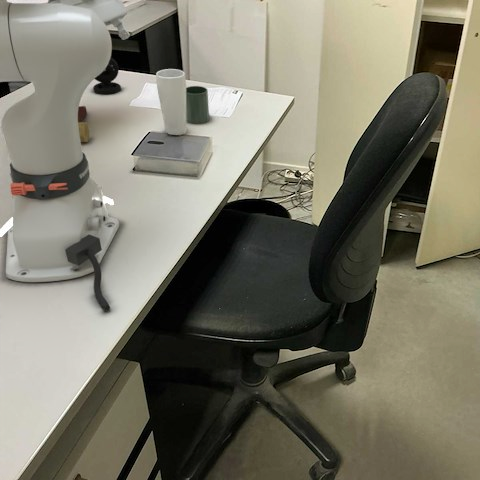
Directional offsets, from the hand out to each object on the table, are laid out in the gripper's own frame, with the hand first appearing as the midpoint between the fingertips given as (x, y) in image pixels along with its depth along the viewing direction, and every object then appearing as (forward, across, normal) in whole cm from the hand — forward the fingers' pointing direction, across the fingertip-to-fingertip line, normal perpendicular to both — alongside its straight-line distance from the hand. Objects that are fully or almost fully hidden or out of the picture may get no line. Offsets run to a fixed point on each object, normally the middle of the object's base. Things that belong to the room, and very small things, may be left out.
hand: (116, 42), depth 129 cm
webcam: (+4, +20, +27) cm, 34 cm away
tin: (+25, +10, +2) cm, 27 cm away
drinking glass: (+24, 0, +4) cm, 24 cm away
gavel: (+8, -6, +22) cm, 24 cm away
